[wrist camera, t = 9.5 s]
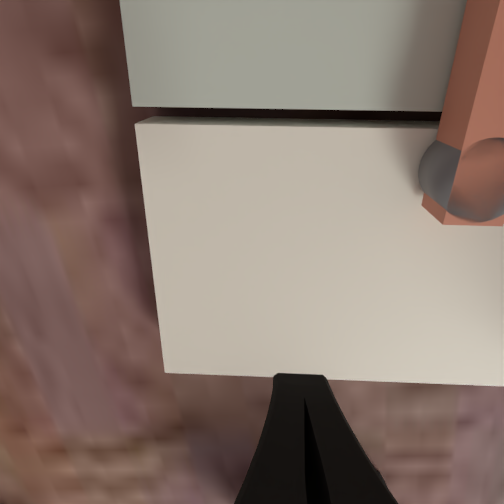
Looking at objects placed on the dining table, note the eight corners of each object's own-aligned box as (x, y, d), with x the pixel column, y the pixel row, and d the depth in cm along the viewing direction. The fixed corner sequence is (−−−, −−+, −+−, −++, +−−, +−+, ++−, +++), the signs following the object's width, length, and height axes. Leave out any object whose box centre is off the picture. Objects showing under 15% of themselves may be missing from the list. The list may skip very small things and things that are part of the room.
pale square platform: (751, -320, 10) (1081, -584, 6) (493, 352, 21) (549, 424, 17) (111, -307, 11) (12, -540, 7) (175, 341, 22) (152, 407, 17)
